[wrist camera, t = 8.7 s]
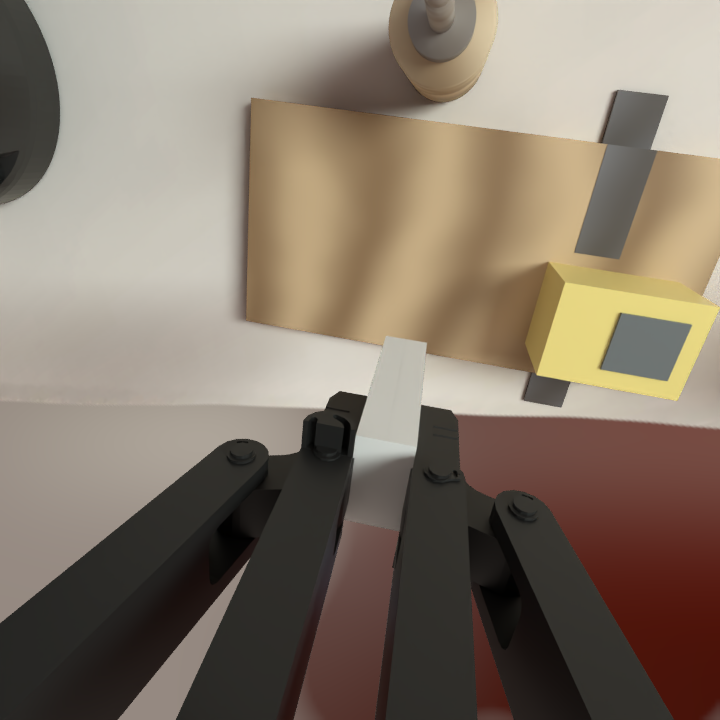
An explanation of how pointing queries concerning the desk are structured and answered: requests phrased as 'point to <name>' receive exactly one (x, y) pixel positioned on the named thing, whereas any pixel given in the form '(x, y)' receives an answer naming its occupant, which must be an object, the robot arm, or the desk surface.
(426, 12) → the awl
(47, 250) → the desk surface
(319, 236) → the board
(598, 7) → the desk surface
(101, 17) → the desk surface
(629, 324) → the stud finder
